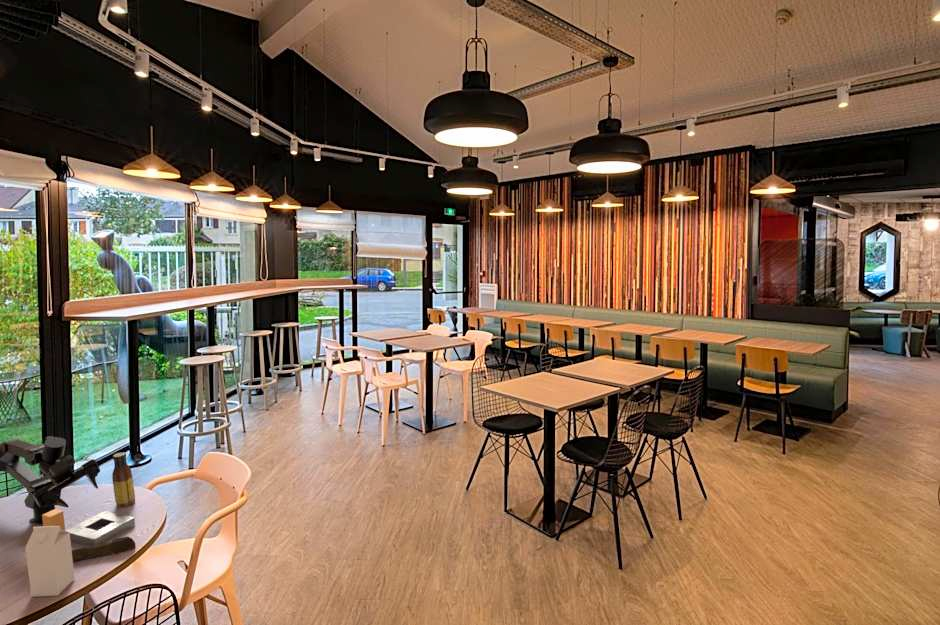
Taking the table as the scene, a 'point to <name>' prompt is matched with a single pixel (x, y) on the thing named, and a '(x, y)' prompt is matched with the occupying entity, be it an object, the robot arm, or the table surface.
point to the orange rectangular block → (54, 519)
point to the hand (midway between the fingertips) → (82, 496)
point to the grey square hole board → (88, 529)
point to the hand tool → (104, 549)
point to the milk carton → (49, 561)
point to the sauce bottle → (122, 481)
